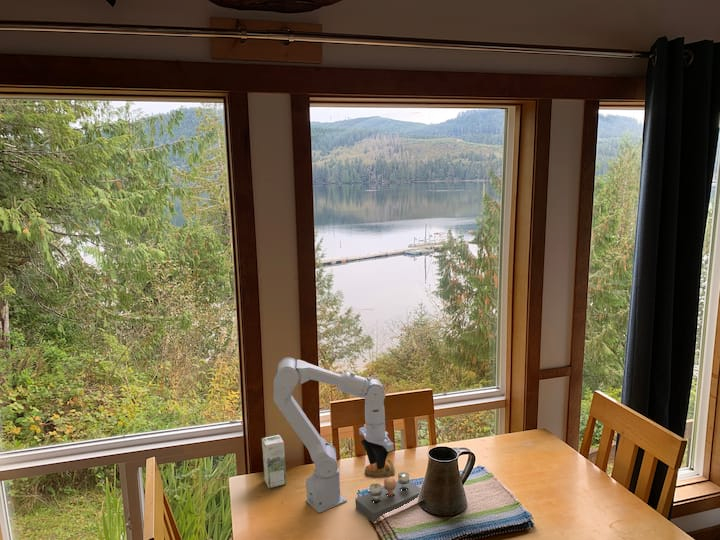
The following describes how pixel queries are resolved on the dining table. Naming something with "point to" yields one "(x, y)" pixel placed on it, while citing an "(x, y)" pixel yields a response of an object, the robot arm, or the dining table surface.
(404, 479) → the far knob
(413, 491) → the knob panel
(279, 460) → the syrup box
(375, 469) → the pastry
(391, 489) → the middle knob
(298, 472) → the dining table surface
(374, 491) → the near knob
